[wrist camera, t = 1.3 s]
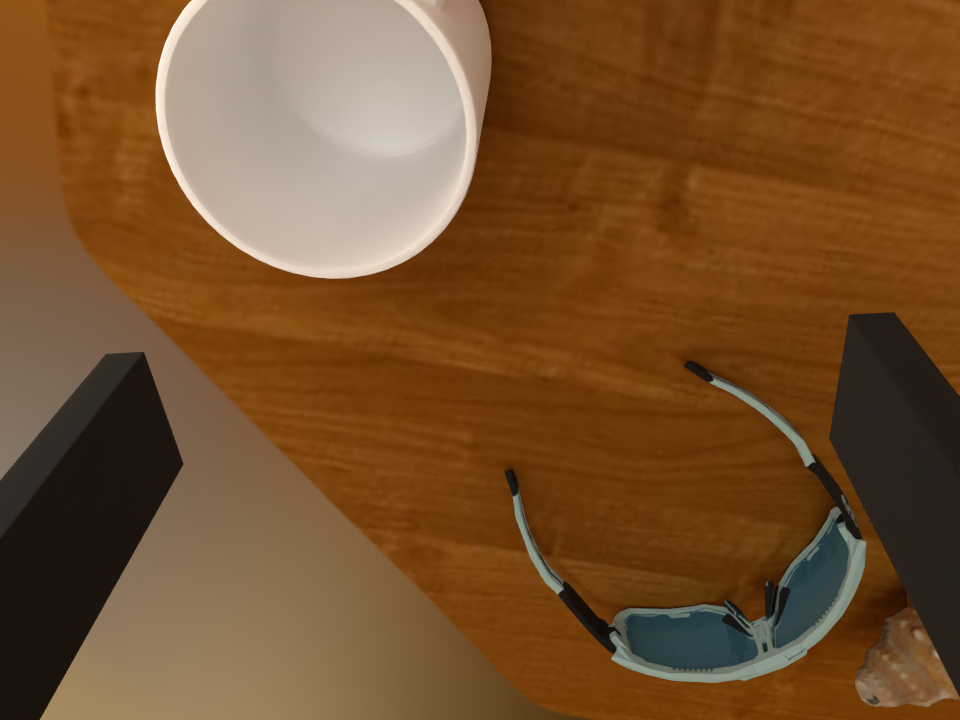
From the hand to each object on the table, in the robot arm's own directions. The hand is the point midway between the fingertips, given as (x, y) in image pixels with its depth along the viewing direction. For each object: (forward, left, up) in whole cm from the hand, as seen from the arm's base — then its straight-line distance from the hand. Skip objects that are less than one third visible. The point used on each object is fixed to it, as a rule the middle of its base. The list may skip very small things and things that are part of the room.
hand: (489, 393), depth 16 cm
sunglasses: (+11, +18, -18) cm, 28 cm away
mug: (-1, -5, -18) cm, 19 cm away
